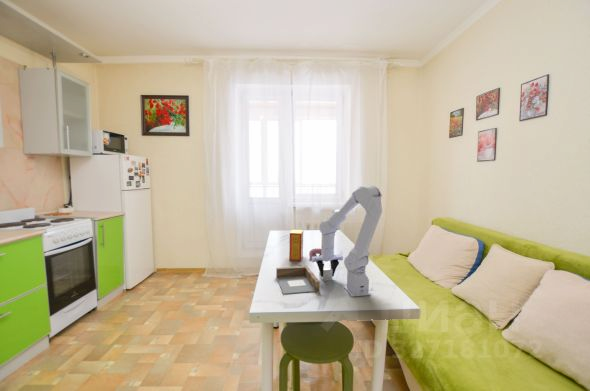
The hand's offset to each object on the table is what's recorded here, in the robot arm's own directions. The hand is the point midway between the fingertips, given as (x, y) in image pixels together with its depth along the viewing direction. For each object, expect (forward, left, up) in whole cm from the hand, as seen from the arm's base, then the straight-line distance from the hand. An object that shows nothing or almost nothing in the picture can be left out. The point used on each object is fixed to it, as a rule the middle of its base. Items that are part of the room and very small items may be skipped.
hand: (326, 275), depth 119 cm
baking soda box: (+32, +7, -2) cm, 33 cm away
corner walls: (-2, +15, -2) cm, 15 cm away
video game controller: (+28, -5, -2) cm, 29 cm away
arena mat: (-2, +15, -2) cm, 15 cm away
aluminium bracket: (+2, 0, -2) cm, 2 cm away
